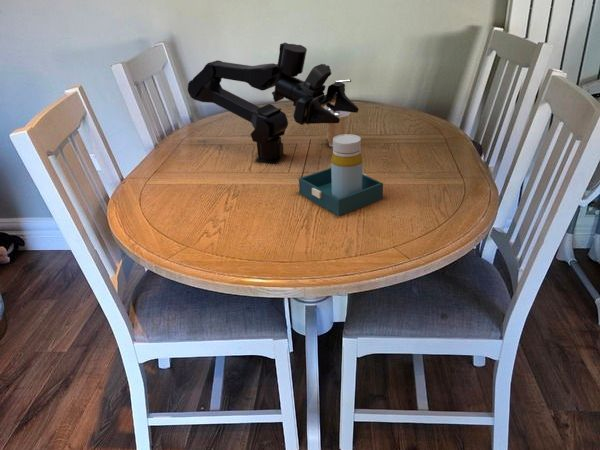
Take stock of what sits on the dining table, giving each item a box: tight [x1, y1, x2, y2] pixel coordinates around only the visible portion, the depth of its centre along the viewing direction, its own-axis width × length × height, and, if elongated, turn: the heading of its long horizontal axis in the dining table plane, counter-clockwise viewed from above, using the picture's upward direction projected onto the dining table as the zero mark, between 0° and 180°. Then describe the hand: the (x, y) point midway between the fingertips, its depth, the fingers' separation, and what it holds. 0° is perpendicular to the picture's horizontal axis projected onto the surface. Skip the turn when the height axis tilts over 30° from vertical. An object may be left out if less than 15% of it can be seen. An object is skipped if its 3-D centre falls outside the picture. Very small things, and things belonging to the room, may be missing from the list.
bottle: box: [330, 133, 364, 198], centre depth 110 cm, size 7×7×15 cm
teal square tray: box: [298, 167, 384, 217], centre depth 115 cm, size 15×14×4 cm
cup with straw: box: [323, 78, 352, 148], centre depth 140 cm, size 8×9×20 cm
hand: (348, 115), depth 117 cm, fingers open, 9 cm apart
